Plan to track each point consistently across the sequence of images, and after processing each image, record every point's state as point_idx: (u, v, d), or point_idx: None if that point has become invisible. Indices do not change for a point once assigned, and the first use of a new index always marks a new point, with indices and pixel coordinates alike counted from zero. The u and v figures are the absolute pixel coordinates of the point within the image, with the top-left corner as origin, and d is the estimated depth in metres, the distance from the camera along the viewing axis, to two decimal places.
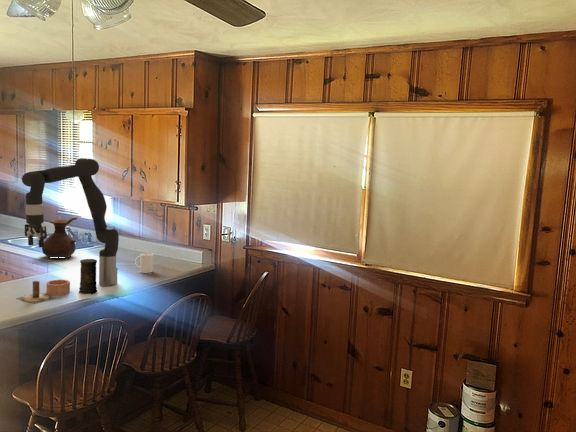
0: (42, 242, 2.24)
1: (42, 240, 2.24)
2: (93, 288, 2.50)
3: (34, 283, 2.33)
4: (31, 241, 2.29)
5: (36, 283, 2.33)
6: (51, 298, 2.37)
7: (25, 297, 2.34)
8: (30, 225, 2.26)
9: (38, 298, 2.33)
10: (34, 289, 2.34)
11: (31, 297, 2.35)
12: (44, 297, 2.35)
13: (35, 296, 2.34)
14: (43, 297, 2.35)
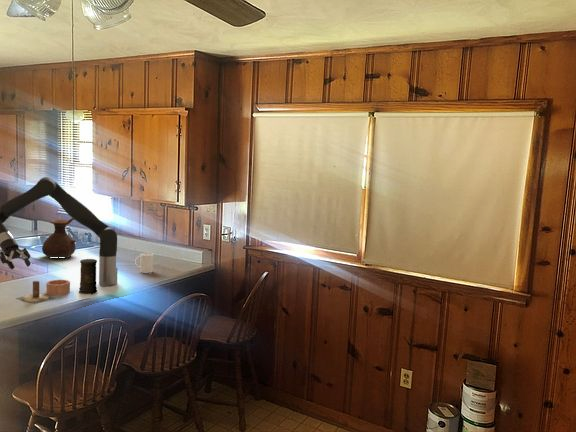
0: (9, 265, 2.35)
1: (8, 263, 2.35)
2: (93, 288, 2.50)
3: (34, 283, 2.33)
4: (26, 262, 2.43)
5: (36, 283, 2.33)
6: (51, 298, 2.37)
7: (25, 297, 2.34)
8: None
9: (38, 298, 2.33)
10: (34, 289, 2.34)
11: (31, 297, 2.35)
12: (44, 297, 2.35)
13: (35, 296, 2.34)
14: (43, 297, 2.35)
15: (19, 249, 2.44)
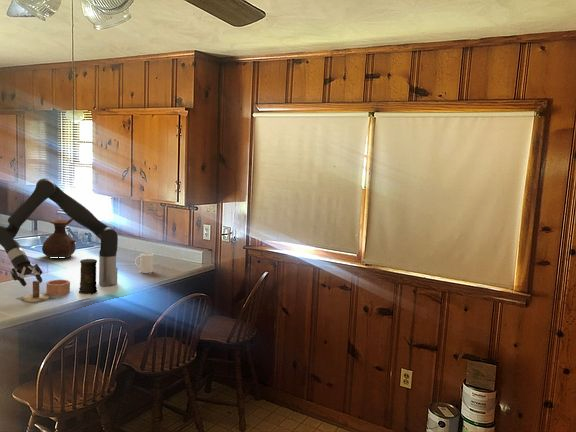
0: (21, 281, 2.31)
1: (19, 280, 2.32)
2: (93, 288, 2.50)
3: (34, 283, 2.33)
4: (38, 279, 2.40)
5: (36, 283, 2.33)
6: (51, 298, 2.37)
7: (25, 297, 2.34)
8: None
9: (38, 298, 2.33)
10: (34, 289, 2.34)
11: (31, 297, 2.35)
12: (44, 297, 2.35)
13: (35, 296, 2.34)
14: (43, 297, 2.35)
15: (31, 265, 2.41)
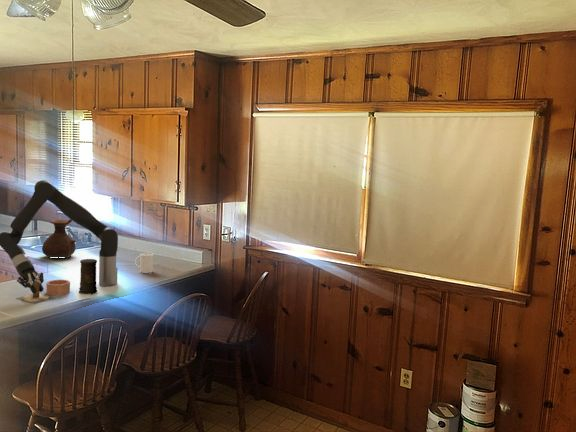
0: (31, 289, 2.32)
1: (30, 287, 2.32)
2: (93, 288, 2.50)
3: (34, 283, 2.33)
4: (39, 288, 2.36)
5: (36, 283, 2.33)
6: (51, 298, 2.37)
7: (25, 297, 2.34)
8: None
9: (38, 298, 2.33)
10: None
11: (31, 297, 2.35)
12: (44, 297, 2.35)
13: (35, 296, 2.34)
14: (43, 297, 2.35)
15: (36, 272, 2.39)
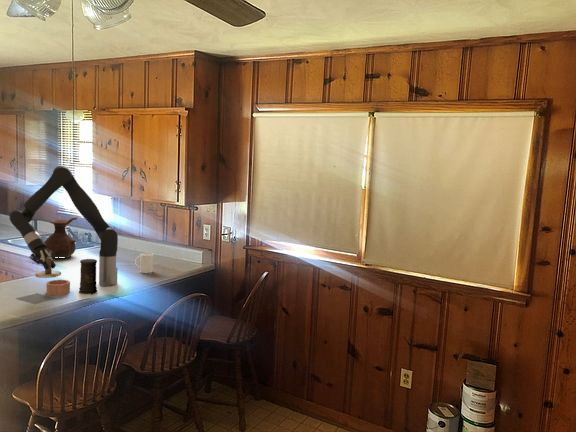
0: (43, 265, 2.37)
1: (42, 264, 2.37)
2: (93, 288, 2.50)
3: (46, 259, 2.38)
4: (51, 264, 2.41)
5: (48, 260, 2.38)
6: (51, 298, 2.37)
7: (38, 273, 2.38)
8: None
9: (50, 274, 2.38)
10: None
11: (43, 273, 2.40)
12: (56, 273, 2.40)
13: (47, 272, 2.39)
14: (55, 273, 2.40)
15: (47, 249, 2.44)
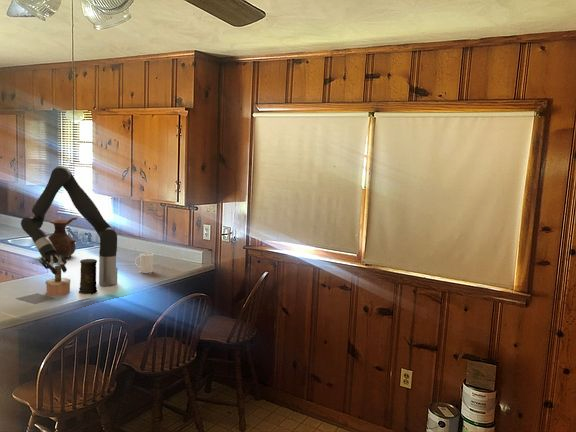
0: (51, 270, 2.43)
1: (50, 268, 2.43)
2: (93, 288, 2.50)
3: (56, 267, 2.45)
4: (63, 268, 2.49)
5: (58, 268, 2.45)
6: (51, 298, 2.37)
7: (48, 281, 2.46)
8: None
9: (60, 282, 2.45)
10: (56, 273, 2.45)
11: (53, 280, 2.47)
12: (66, 281, 2.47)
13: (57, 280, 2.46)
14: (65, 281, 2.47)
15: (57, 254, 2.51)
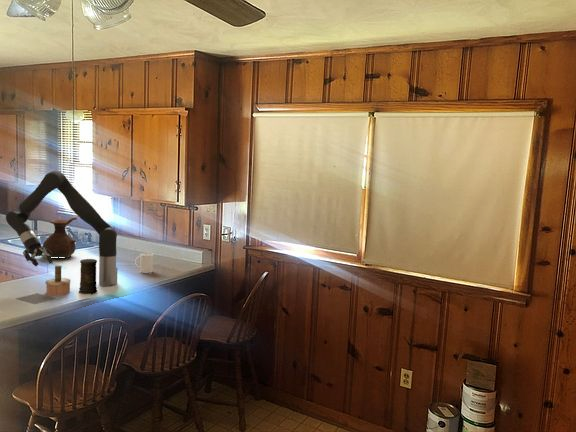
0: (33, 262, 2.48)
1: (32, 260, 2.48)
2: (93, 288, 2.50)
3: (56, 267, 2.45)
4: (49, 259, 2.56)
5: (58, 268, 2.45)
6: (51, 298, 2.37)
7: (48, 281, 2.46)
8: None
9: (60, 282, 2.45)
10: (56, 273, 2.45)
11: (53, 280, 2.47)
12: (66, 281, 2.47)
13: (57, 280, 2.46)
14: (65, 281, 2.47)
15: (41, 247, 2.57)
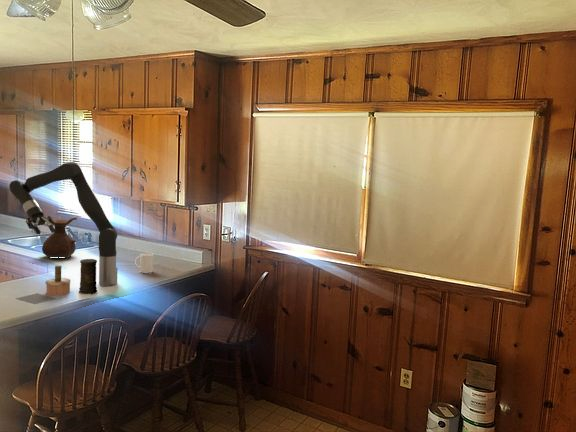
0: (35, 230, 2.50)
1: (34, 228, 2.50)
2: (93, 288, 2.50)
3: (56, 267, 2.45)
4: (51, 229, 2.58)
5: (58, 268, 2.45)
6: (51, 298, 2.37)
7: (48, 281, 2.46)
8: None
9: (60, 282, 2.45)
10: (56, 273, 2.45)
11: (53, 280, 2.47)
12: (66, 281, 2.47)
13: (57, 280, 2.46)
14: (65, 281, 2.47)
15: (44, 216, 2.59)
